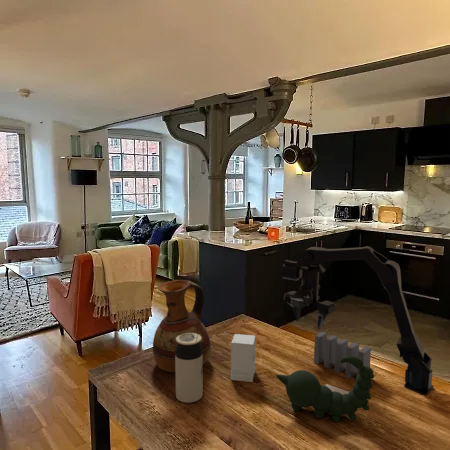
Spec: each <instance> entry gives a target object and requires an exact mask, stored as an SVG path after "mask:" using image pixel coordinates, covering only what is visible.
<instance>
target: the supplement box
mask: <svg viewBox="0 0 450 450" xmlns="http://www.w3.org/2000/svg"><path fill="white" fill-rule="evenodd" d="M256 338H257V337H256V335H253V334H252V335H251V334H239V333H238V334H237V333H234V334H233V338H232V340H231V343H230V380H232V381H240V382H248V383H253V382H254V377H255V372H256V340H257V339H256Z"/></svg>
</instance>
